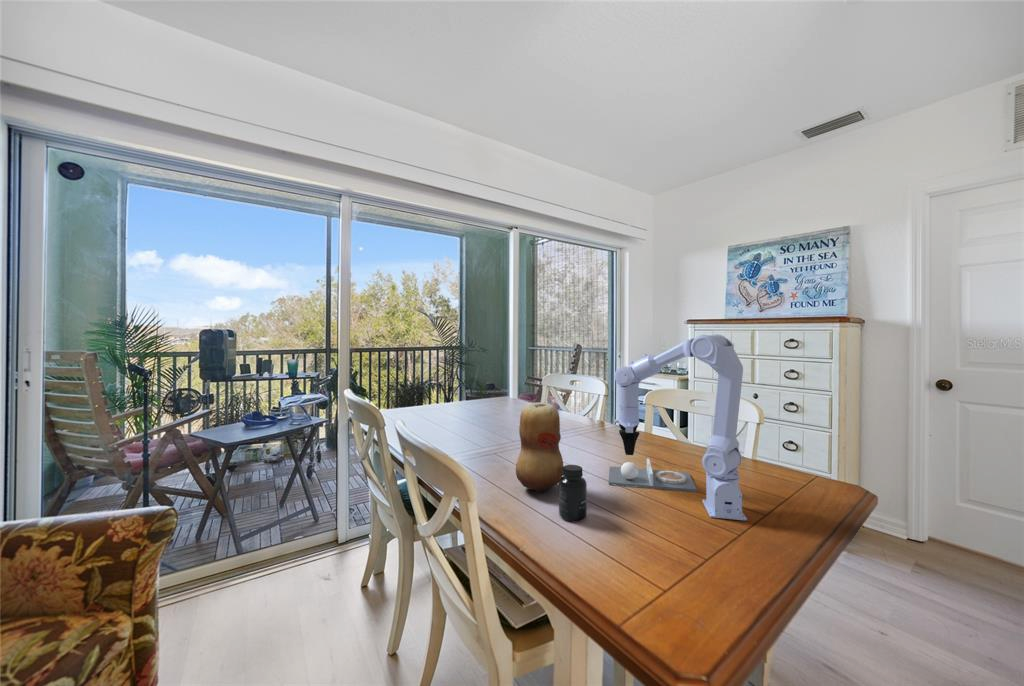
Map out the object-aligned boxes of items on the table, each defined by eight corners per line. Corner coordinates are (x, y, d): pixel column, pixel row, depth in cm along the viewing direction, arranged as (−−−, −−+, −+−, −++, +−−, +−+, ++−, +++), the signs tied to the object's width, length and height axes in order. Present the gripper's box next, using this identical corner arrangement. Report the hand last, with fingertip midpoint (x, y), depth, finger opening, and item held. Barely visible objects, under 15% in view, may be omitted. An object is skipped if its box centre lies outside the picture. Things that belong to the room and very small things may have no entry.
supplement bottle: (589, 522, 91) (588, 472, 91) (560, 522, 91) (559, 472, 91) (584, 509, 98) (583, 462, 98) (557, 509, 98) (557, 463, 98)
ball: (638, 482, 113) (638, 465, 113) (620, 481, 114) (620, 464, 114) (637, 476, 117) (637, 460, 117) (620, 475, 119) (620, 459, 119)
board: (697, 492, 107) (697, 477, 107) (608, 484, 114) (608, 470, 113) (688, 474, 121) (688, 461, 120) (609, 468, 127) (609, 456, 127)
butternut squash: (524, 502, 103) (523, 409, 102) (510, 484, 115) (509, 401, 115) (572, 495, 106) (570, 405, 106) (553, 478, 119) (552, 398, 119)
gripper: (615, 401, 123) (615, 443, 124) (614, 410, 109) (615, 457, 110) (638, 402, 122) (638, 444, 122) (640, 411, 108) (641, 459, 108)
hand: (629, 450), depth 116 cm, fingers open, 7 cm apart
